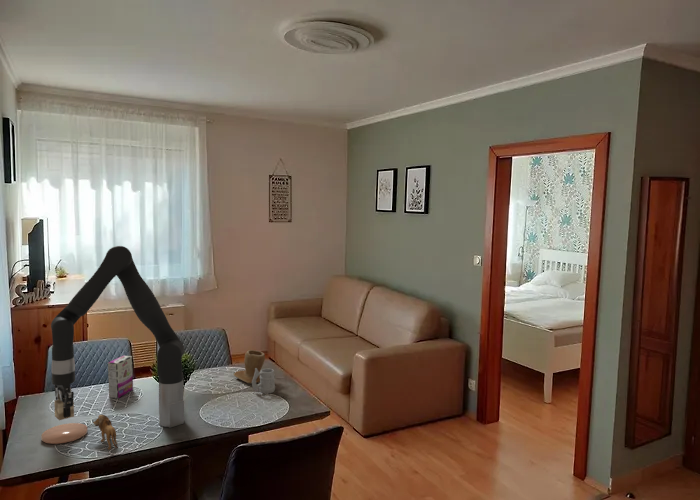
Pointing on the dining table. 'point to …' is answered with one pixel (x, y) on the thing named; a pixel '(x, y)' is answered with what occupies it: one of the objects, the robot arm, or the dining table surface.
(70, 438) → the dish
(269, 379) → the mug
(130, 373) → the candy bar box
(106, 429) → the lion figurine
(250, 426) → the dining table surface
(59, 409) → the birch block
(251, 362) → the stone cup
